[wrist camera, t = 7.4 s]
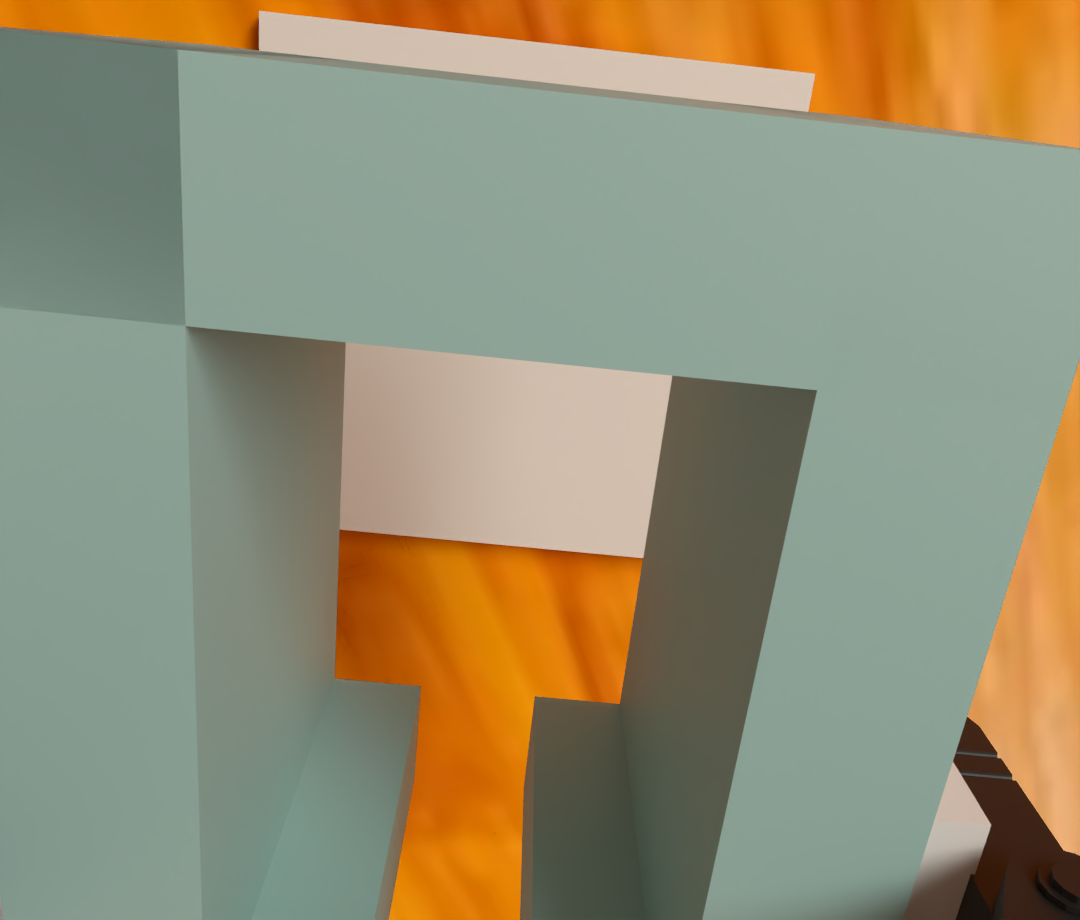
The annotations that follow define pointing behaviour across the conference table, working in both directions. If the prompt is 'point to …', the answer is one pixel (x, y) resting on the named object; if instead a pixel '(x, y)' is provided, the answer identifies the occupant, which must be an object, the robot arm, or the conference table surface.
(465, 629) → the conference table surface
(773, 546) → the green u-shaped block
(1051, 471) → the conference table surface
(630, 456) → the mat
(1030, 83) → the conference table surface
